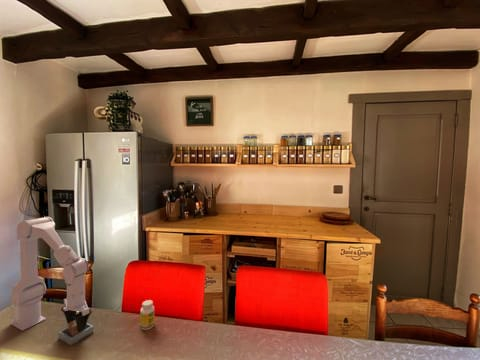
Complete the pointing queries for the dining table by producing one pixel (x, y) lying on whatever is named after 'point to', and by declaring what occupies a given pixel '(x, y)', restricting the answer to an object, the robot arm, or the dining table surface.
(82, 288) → the robot arm
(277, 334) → the dining table surface
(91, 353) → the dining table surface
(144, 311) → the supplement bottle
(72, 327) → the block
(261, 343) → the dining table surface
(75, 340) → the tray
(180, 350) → the dining table surface
